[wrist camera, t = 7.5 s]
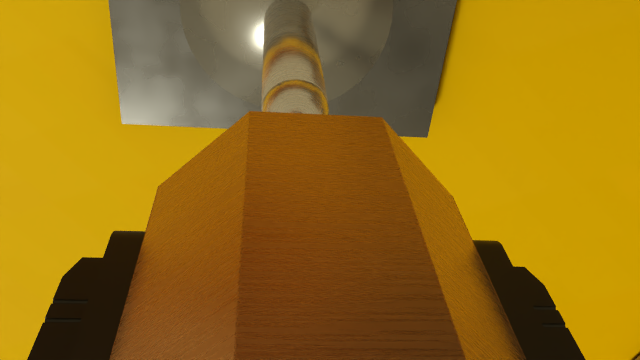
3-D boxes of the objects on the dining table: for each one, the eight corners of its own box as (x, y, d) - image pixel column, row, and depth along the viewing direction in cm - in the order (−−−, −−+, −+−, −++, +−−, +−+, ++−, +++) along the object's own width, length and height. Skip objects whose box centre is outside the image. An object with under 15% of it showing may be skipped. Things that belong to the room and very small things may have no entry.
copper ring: (472, 120, 11) (631, 381, 6) (416, 336, 15) (492, 619, 10) (152, 106, 11) (48, 384, 6) (169, 334, 14) (113, 637, 9)
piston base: (480, -164, 25) (660, -124, 14) (421, 124, 33) (503, 307, 21) (96, -203, 24) (-74, -197, 12) (128, 110, 31) (42, 300, 20)
